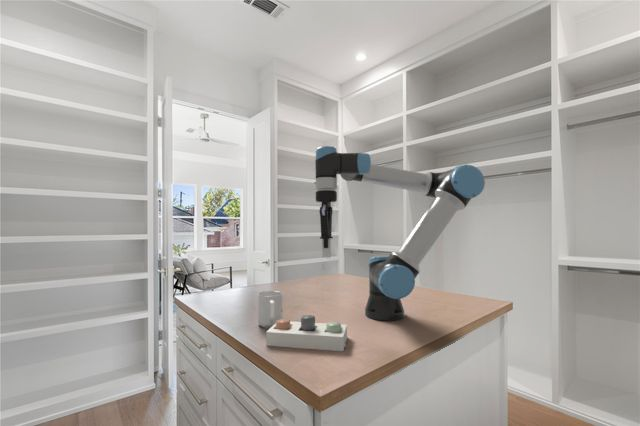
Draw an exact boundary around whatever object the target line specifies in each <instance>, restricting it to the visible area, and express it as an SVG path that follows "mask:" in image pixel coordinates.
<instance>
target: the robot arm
mask: <svg viewBox="0 0 640 426" xmlns="http://www.w3.org/2000/svg"><path fill="white" fill-rule="evenodd" d="M314 161H315V181H314V182H313V184H314V185H315V190H316V192H315V202H317V203H320V204H321V205H320V207H319V217H320V219H319V220H320V237H319V239H320V240H321V241H322V242H321V243H322V245H321V246H322V247H321V248H322V255H321V256H322V258H327V259H328V258H331V257H332V255H331V253H332V252H331V251H332V250H331V249H332V247H331V244H332V243H331V242H332V241H331V239H333V238H334V237H333V236H332V230H333V229H332V228H333V227H332V226H333V225H332V224H333V207H332V203H336V202H337V201H338V200H337V199H338V195H337V194H338V193H337V191H336V190H338V181H337V180H338V179H337V175H340V177H341V178H342V179H343V180H344V181H349V182H350V181H355V182H363V183H366V184H367V183H368V184H373V185H379V186H384V187H389V188H395V189H400V190H401V189H402V190H406V191H410V192H418V193H421V194H422V195H423V196H425V197H431V198H434V199H433V200H432V202H431V204H430V205H429V206H428V208H427V209H426V211H425V212H424V214H423V215H422V216H421V217H420V219H419V221H418V222H417V223H416V225H414V227H413V229H412V230H411V232H410V233H409V235H407V237H406V239H405V240H404V241H403V243H402V244H401V245H400V247H399V248H398V250H397V251H392V252H390V254H389V255H388V256H371V257H370V258H369V260H368V275H369V276H368V278H369V279H368V282H369V284H368V286H369V291H368V293H369V294H368V299H367V301H366V305H365V308H364V315H365V316H366V317H367V318H369V319H373V320H376V321H377V320H378V321H388V322H389V321H390V322H391V321H397V320H398V321H399V320H402V319H404V317H405V309H404V306H403V303H402V299H404V298H406V297H408V296H409V295H410V294H411V293H412V292H413V290H414V288H415V286H416V285H415V284H416V283H415V282H416V280H415V279H416V278H417V277H418V275H419V274H420V272H421V271H420V267H419V266H420V264H421V263H422V261H424V260H423V259H424V258H426V256H427V254H428V253H429V251H430V250H431V249H432V247H433V246H434V244H435V243H436V242H437V240H438V239H439V237H440V236H441V234H442V233H443V232H444V230H445V229H446V227H447V225H448V224H449V223H450V222H451V220H452V219H453V217H454V216H455V214H456V213H457V211H462V210H465V208H466V207H467V205H468V204H469V203H470V202H471V200H472V199H473V198H476V197H478V196H480V194H482V192H483V191H484V189H485V184H486V182H485V181H486V180H485V177H484V174H483V173H482V171H481V170H480V169H479V168H477V166H474V165H472V164H463V165H457V166H456V167H455V168H452V169H449V170H447V171H443V172H432V171H428V172H426V173H423V172H417V171H412V170H405V169H400V168H395V167H389V166H383V165H378V164H372V162H371V161H372V160H371V156H370V154H369V153H363V152H351V153H350V152H337V148H336V147H334V146H330V145H329V146H328V145H324V146H323V145H322V146H319V147H317V149H316V150H315V160H314Z"/></svg>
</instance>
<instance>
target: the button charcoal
mask: <svg viewBox="0 0 640 426" xmlns="http://www.w3.org/2000/svg"><path fill="white" fill-rule="evenodd" d="M300 322H301V331H313V332H314V331H315V323H316V316H315V315H312V314H304V315H301V316H300Z"/></svg>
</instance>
